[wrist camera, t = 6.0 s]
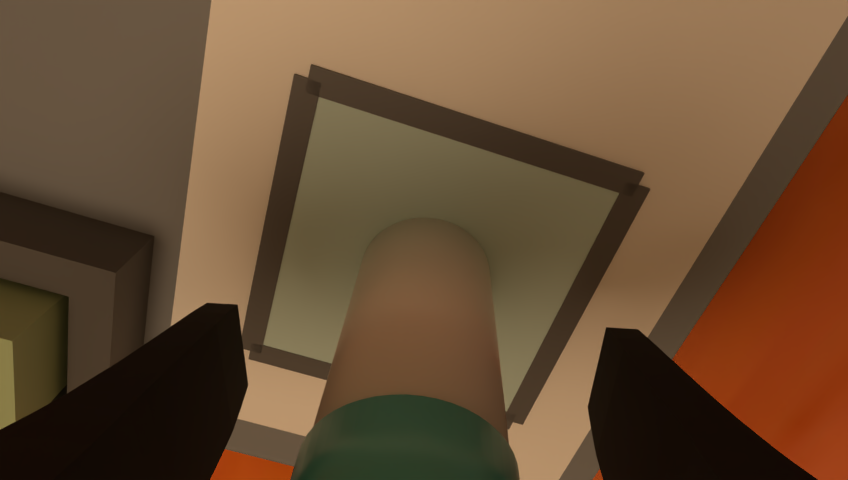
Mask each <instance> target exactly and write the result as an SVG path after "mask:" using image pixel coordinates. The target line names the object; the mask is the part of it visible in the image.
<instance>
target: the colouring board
mask: <svg viewBox="0 0 848 480" xmlns="http://www.w3.org/2000/svg"><path fill="white" fill-rule="evenodd" d="M847 95H848V0H0V278H2V279H6V280H10V281H13V282H17V283H21V284H24V285H28V286H32V287H35V288H39V289H43V290H46V291H50V292H54V293H57V294H61V295H65V296H68V297H69V314H68V365H67V385H66V386H65V387H64V388H63V389H62V390H61V391H60V392H59V394H58V395H57V396H56V397H55V398H54V399H53V400H52V401H51V402H53V401H55V400H57V399H58V398H60V397H62V396H64V395H65V394H67V393H69V392H70V391H72V390H73V389H75V388H77V387H78V386H80V385H82V384H83V383H85V382H86V381H88V380H90V379H91V378H93V377H95V376H96V375H98V374H99V373H101V372H103V371H104V370H106V369H108V368H109V367H111V366H112V365H114V364H116V363H117V362H119V361H120V360H122V359H123V358H125V357H126V356H128V355H129V354H131V353H132V352H134V351H135V350H137V349H138V348H140V347H141V346H143V345H144V344H146V343H147V342H149V341H150V340H152V339H153V338H155V337H156V336H158V335H159V334H161V333H162V332H163V331H165V330H166V329H168V328H169V327H171V326H172V325H174V324H175V323H177V322H178V321H180V320H181V319H182V318H184V317H185V316H187V315H188V314H190V313H191V312H193V311H194V310H196V309H198V308H199V307H201V306H203V305H204V304H206V303H220V304H237V305H238V311H239V318H240V326H241V334H242V341H243V349H244V356H245V364H246V372H247V379H248V388H247V391H246V394H245V397H244V400H243V403H242V407H241V410H240V413H239V415H238V418H237V421H236V424H235V427H234V430H233V432H232V434H231V437H230V439H229V441H228V443H227V445H226V447H225V449H227V450H231V451H235V452H239V453H243V454H247V455H251V456H255V457H259V458H263V459H267V460H271V461H275V462H279V463H283V464H287V465H290V466H295V463H296V460H297V456H298V453H299V450H300V447H301V444H302V442H303V441H304V439H305V437H306V435H307V434H308V433H309V431H310V430H311V429H312V428H313V426H314V422H315V419H316V416H317V412H318V409H319V405H320V402H321V399H322V395H323V392H324V388H325V385H326V382H327V378H328V375H329V371H330V368H331V365H332V361H333V358H334V354H335V351H336V348H337V344H338V341H339V337H340V334H341V331H342V327H343V324H344V320H345V317H346V314H347V310H348V307H349V303H350V300H351V297H352V293H353V290H354V286H355V283H356V280H357V276H358V273H359V269H360V266H361V263H362V259H363V256H364V253H365V251H366V249H367V247H368V246H369V244H370V243H371V241H372V240H373V239H374V238H375V237H376V236H377V235H378V234H379V233H380V232H382V231H383V230H384V229H386V228H387V227H389V226H391V225H393V224H395V223H398V222H400V221H404V220H407V219H413V218H435V219H440V220H444V221H447V222H450V223H453V224H455V225H457V226H459V227H461V228H462V229H464V230H465V231H467V232H468V233H469V234H470V235H471V236H473V237H474V238H475V240H476V241H477V242H478V243H479V244H480V246H481V247H482V249H483V250H484V253H485V255H486V257H487V260H488V263H489V269H490V277H491V286H492V295H493V304H494V313H495V322H496V331H497V340H498V349H499V358H500V367H501V376H502V385H503V394H504V403H505V412H506V421H507V430H508V439H509V445H510V447H511V449H512V451H513V453H514V455H515V458H516V461H517V464H518V470H519V477H520V480H592V479H593V478H594V476H595V475H596V473H597V472H598V470H599V469H600V467H599V463H598V460H597V457H596V452H595V447H594V442H593V437H592V431H591V425H590V419H589V413H588V403H589V399H590V394H591V390H592V386H593V381H594V377H595V373H596V369H597V364H598V360H599V356H600V351H601V347H602V343H603V338H604V334H605V330H606V327H610V328H626V329H638V330H639V331H641V332H642V333H643V334H644V335H645V336H646V337H648V338H649V339H650V340H651V341H652V342H653V343H654V344H655V345H656V346H657V347H659V348H660V349H661V350H662V351H663V352H664V353H665V354H666V355H667V356H668V357H669V358H670V359H671V360H672V359H673V357H674V356H675V354H676V353H677V351H678V350H679V348H680V347H681V345H682V344H683V342H684V341H685V339H686V337H687V336H688V334H689V333H690V331H691V330H692V328H693V327H694V325H695V324H696V322H697V321H698V319H699V318H700V316H701V315H702V313H703V312H704V310H705V309H706V307H707V306H708V304H709V303H710V301H711V300H712V298H713V297H714V295H715V294H716V292H717V291H718V289H719V288H720V286H721V285H722V283H723V282H724V280H725V279H726V277H727V276H728V274H729V273H730V271H731V270H732V268H733V267H734V265H735V264H736V262H737V261H738V259H739V258H740V256H741V255H742V253H743V252H744V250H745V249H746V247H747V246H748V244H749V243H750V241H751V240H752V238H753V237H754V235H755V233H756V232H757V230H758V229H759V227H760V226H761V224H762V223H763V221H764V220H765V218H766V217H767V215H768V214H769V212H770V211H771V209H772V208H773V206H774V205H775V203H776V202H777V200H778V199H779V197H780V196H781V194H782V193H783V191H784V190H785V188H786V187H787V185H788V184H789V182H790V181H791V179H792V178H793V176H794V175H795V173H796V172H797V170H798V169H799V167H800V166H801V164H802V163H803V161H804V160H805V158H806V157H807V155H808V154H809V152H810V151H811V149H812V148H813V146H814V145H815V143H816V142H817V140H818V139H819V137H820V136H821V134H822V133H823V131H824V130H825V128H826V126H827V125H828V123H829V122H830V120H831V119H832V117H833V116H834V114H835V113H836V111H837V110H838V108H839V107H840V105H841V104H842V102H843V101H844V99H845V98H846V96H847Z"/></svg>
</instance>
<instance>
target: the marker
mask: <svg viewBox="0 0 848 480" xmlns="http://www.w3.org/2000/svg"><path fill="white" fill-rule="evenodd" d="M290 480H520V477H519V470H518V464H517V461H516V458H515V455H514V453H513V451H512V449H511V447H510V445H509V439H508V430H507V421H506V412H505V403H504V394H503V385H502V376H501V367H500V358H499V349H498V340H497V331H496V322H495V313H494V304H493V295H492V286H491V277H490V269H489V263H488V260H487V257H486V255H485V253H484V250H483V249H482V247H481V246H480V244H479V243H478V242H477V241H476V240H475V238H474V237H473V236H471V235H470V234H469V233H468V232H467V231H465V230H464V229H462V228H461V227H459V226H457V225H455V224H453V223H450V222H447V221H444V220H440V219H435V218H413V219H407V220H404V221H400V222H398V223H395V224H393V225H391V226H389V227H387V228H386V229H384V230H383V231H382V232H380V233H379V234H378V235H377V236H376V237H375V238H374V239H373V240H372V241H371V243H370V244H369V246H368V247H367V249H366V251H365V253H364V256H363V259H362V263H361V266H360V269H359V273H358V276H357V280H356V283H355V286H354V290H353V293H352V297H351V300H350V303H349V307H348V310H347V314H346V317H345V320H344V324H343V327H342V331H341V334H340V337H339V341H338V344H337V348H336V351H335V354H334V358H333V361H332V365H331V368H330V371H329V375H328V378H327V382H326V385H325V388H324V392H323V395H322V399H321V402H320V405H319V409H318V412H317V416H316V419H315V422H314V426H313V428H312V429H311V430H310V431H309V433H308V434H307V435H306V437H305V439H304V441H303V442H302V444H301V447H300V450H299V453H298V456H297V460H296V463H295V466H294V469H293V473H292V476H291V479H290Z"/></svg>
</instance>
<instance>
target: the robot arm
mask: <svg viewBox="0 0 848 480" xmlns="http://www.w3.org/2000/svg"><path fill="white" fill-rule="evenodd" d="M247 388H248V379H247V372H246V364H245V356H244V349H243V341H242V334H241V326H240V318H239V311H238V305H237V304H220V303H206V304H204V305H203V306H201V307H199V308H198V309H196V310H194V311H193V312H191V313H190V314H188V315H187V316H185V317H184V318H182V319H181V320H180V321H178V322H177V323H175V324H174V325H172V326H171V327H169V328H168V329H166V330H165V331H163V332H162V333H161V334H159V335H158V336H156V337H155V338H153V339H152V340H150V341H149V342H147V343H146V344H144V345H143V346H141V347H140V348H138V349H137V350H135V351H134V352H132V353H131V354H129V355H128V356H126V357H125V358H123V359H122V360H120V361H119V362H117V363H116V364H114V365H112V366H111V367H109V368H108V369H106V370H104V371H103V372H101V373H99V374H98V375H96V376H95V377H93V378H91V379H90V380H88V381H86V382H85V383H83V384H82V385H80V386H78V387H77V388H75V389H73V390H72V391H70V392H69V393H67V394H65V395H64V396H62V397H60V398H58V399H57V400H55V401H53V402H51V403H49V404H48V405H46V406H44V407H42V408H40V409H39V410H37V411H35V412H33V413H31V414H29V415H27V416H25V417H23V418H21V419H19V420H18V421H16V422H14V423H12V424H10V425H8V426H6V427H4V428H2V429H0V480H210V478H211V476H212V474H213V472H214V470H215V468H216V466H217V464H218V462H219V460H220V458H221V456H222V453H223V451H224V449H225V447H226V445H227V443H228V441H229V439H230V437H231V434H232V432H233V430H234V427H235V424H236V421H237V418H238V415H239V413H240V410H241V407H242V403H243V400H244V397H245V394H246V391H247ZM588 413H589V419H590V425H591V431H592V437H593V442H594V447H595V452H596V457H597V460H598V463H599V467H600V470H601V473H602V477H603V480H817V479H816V478H815V477H813V476H812V475H810V474H809V473H808V472H806V471H805V470H803V469H802V468H800V467H799V466H798V465H796V464H795V463H793V462H792V461H791V460H789V459H788V458H787V457H785V456H784V455H783V454H781V453H780V452H779V451H777V450H776V449H775V448H773V447H772V446H771V445H770V444H768V443H767V442H766V441H765V440H763V439H762V438H761V437H760V436H758V435H757V434H756V433H755V432H754V431H752V430H751V429H750V428H749V427H747V426H746V425H745V424H744V423H742V422H741V421H740V420H739V419H738V418H736V417H735V416H734V415H733V414H732V413H730V412H729V411H728V410H727V409H726V408H725V407H723V406H722V405H721V404H720V403H719V402H718V401H717V400H715V399H714V398H713V397H712V396H711V395H710V394H709V393H707V392H706V391H705V390H704V389H703V388H702V387H701V386H700V385H699V384H697V383H696V382H695V381H694V380H693V379H692V378H691V377H690V376H689V375H688V374H687V373H685V372H684V371H683V370H682V369H681V368H680V367H679V366H678V365H677V364H676V363H675V362H674V361H673V360H671V359H670V358H669V357H668V356H667V355H666V354H665V353H664V352H663V351H662V350H661V349H660V348H659V347H657V346H656V345H655V344H654V343H653V342H652V341H651V340H650V339H649V338H648V337H646V336H645V335H644V334H643V333H642V332H641V331H639V330H638V329H626V328H610V327H606V330H605V334H604V338H603V343H602V347H601V351H600V356H599V360H598V364H597V369H596V373H595V377H594V381H593V386H592V390H591V394H590V399H589V403H588Z"/></svg>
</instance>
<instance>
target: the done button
mask: <svg viewBox="0 0 848 480" xmlns="http://www.w3.org/2000/svg"><path fill="white" fill-rule="evenodd" d="M68 314H69V297H68V296H65V295H61V294H57V293H54V292H50V291H46V290H43V289H39V288H35V287H32V286H28V285H24V284H21V283H17V282H13V281H10V280H6V279H2V278H0V429H2V428H4V427H6V426H8V425H10V424H12V423H14V422H16V421H18V420H19V419H21V418H23V417H25V416H27V415H29V414H31V413H33V412H35V411H37V410H39V409H40V408H42V407H44V406H46V405H48V404H49V403H51V401H52V400H53V399H54V398H55V397H56V396H57V395H58V394H59V392H60V391H61V390H62V389H63V388H64V387H65V386H66V385H67V365H68Z"/></svg>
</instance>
